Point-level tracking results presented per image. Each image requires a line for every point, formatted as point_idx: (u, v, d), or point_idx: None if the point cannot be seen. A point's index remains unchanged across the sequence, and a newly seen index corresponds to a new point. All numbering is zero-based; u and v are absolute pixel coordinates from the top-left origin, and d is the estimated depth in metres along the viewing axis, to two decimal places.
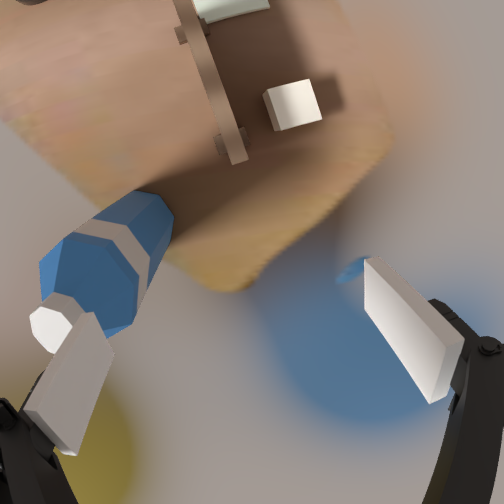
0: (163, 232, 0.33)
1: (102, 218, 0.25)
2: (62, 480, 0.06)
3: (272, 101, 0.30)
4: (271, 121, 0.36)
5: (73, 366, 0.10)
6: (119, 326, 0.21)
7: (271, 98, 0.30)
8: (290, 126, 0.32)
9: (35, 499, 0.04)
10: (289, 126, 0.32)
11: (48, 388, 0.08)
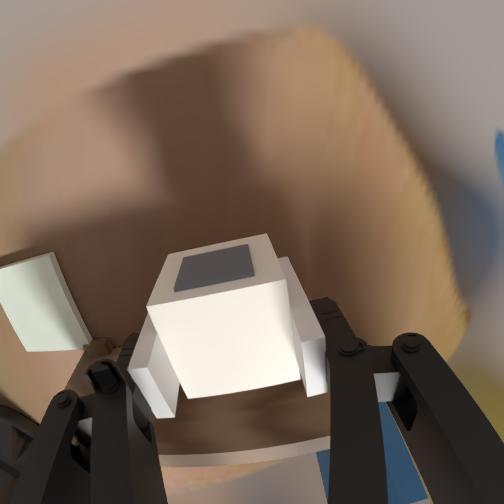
0: None
1: None
2: (154, 455, 0.08)
3: (220, 392, 0.12)
4: None
5: None
6: None
7: (212, 393, 0.12)
8: (294, 361, 0.12)
9: (120, 480, 0.05)
10: (294, 363, 0.12)
11: (153, 345, 0.10)
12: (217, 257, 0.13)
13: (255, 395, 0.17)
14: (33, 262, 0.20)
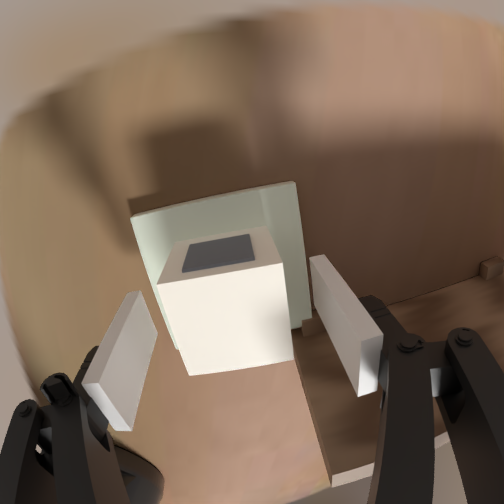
0: None
1: None
2: (113, 463, 0.07)
3: (219, 369, 0.13)
4: None
5: (127, 341, 0.11)
6: None
7: (212, 371, 0.13)
8: (288, 341, 0.13)
9: (82, 485, 0.05)
10: (288, 343, 0.13)
11: (108, 360, 0.09)
12: (221, 244, 0.14)
13: None
14: (259, 193, 0.16)
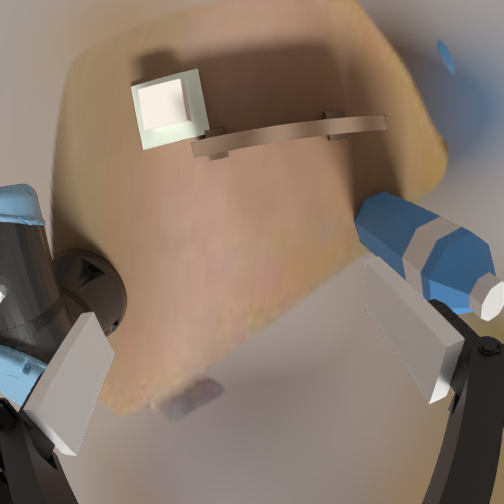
0: (408, 202, 0.35)
1: (403, 248, 0.30)
2: (62, 480, 0.06)
3: (157, 125, 0.31)
4: (181, 123, 0.35)
5: (73, 366, 0.10)
6: (490, 253, 0.23)
7: (153, 126, 0.31)
8: (184, 110, 0.30)
9: (35, 499, 0.04)
10: (183, 111, 0.30)
11: (48, 388, 0.08)
12: None
13: None
14: (182, 73, 0.33)
